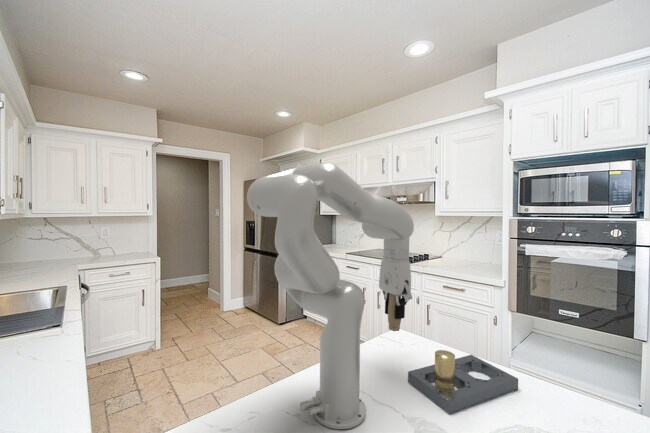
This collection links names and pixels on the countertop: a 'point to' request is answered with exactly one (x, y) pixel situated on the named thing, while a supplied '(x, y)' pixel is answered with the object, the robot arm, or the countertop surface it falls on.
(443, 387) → the brass pin
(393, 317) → the handle
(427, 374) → the bolt plate
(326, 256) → the robot arm
